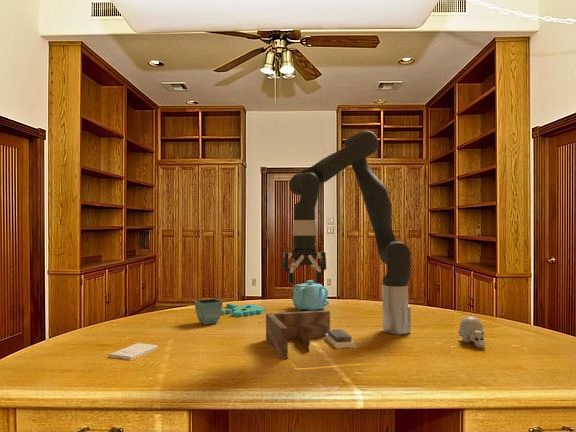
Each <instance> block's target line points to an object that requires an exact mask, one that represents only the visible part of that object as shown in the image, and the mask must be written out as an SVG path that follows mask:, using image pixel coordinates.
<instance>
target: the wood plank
mask: <svg viewBox="0 0 576 432" xmlns="http://www.w3.org/2000/svg"><path fill="white" fill-rule="evenodd" d="M298 332H299V335H300V338H299V339H300V341H301V345H302V346H303V347H304V348H305V350H306V351H308V352H310V341H311V337H309V336H307V335H305V334H304V333H303V332H302V331H301V330H300V327H299V326H298Z"/></svg>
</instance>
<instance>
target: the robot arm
mask: <svg viewBox="0 0 576 432" xmlns="http://www.w3.org/2000/svg"><path fill="white" fill-rule="evenodd" d="M378 147H379V140H378V136H377V135H376V134H375V133H374V132H373V131H370V130H362V131H359V132H357V133H355V134H353V135H351V136H349V137H347V138H346V140H345V142H344V147H342V148H341V149H339V150H338V151H335V152H334V153H331V154H329V155H328V156H326V157H324V158H322V159H320V160H319V161H318V162H316V163H314V165H312V166H310V167H308V168H306V169H303V170H301V171H299V172H297V173H296V174H294V175H292V177H291V178H290V180H289V184H288V185H289V191H291V193H293V195H296V196H300V199H299V201H297V202H296V203H294V205H293V224H292V252H287V251H284V252H283V254H282V266H281V267H282V270H283V271H284V272H287V273H288V274H287V281H288V283H289V284H290V285H291V286H294V284H295V279H294V278H295V276H294V275H295V273H294V271H295V270H296V269H297V268H298V266H311V267H312V268H313V269H314V270H315V271H314V283H315V284H320V282H321V280H322V279H321V278H322V277H321V276H322V275H321V274H322V272H323V271H326V270H327V258H326V257H327V256H326V251H319V252H317V226H316V205H317V202H318V198H319V193H320V189H321V187H320V185H321V184H324V183H326V182H328V181H329V180H331V179H332V178H333V177H336V176H337V175H338V174H339V173H341V172H342V171H344V169H346V168H347V167H350V165H351V167H352V169H353V173H354V174H355V178H356V180H357V183H358V186H359V189H360V192H361V196H362V199H363V203H364V205H365V209H366V211H367V215H368V217H369V220H370V224H371V226H372V230H373V233H374V238H375V242H376V247H377V253H378V256H379V259H380V260H381V262H382V263H383V264H385V265H386V266H387V267H386V274H385V275H384V276H382V332H383V333H386V334H390V335H406V334H408V333H410V334H411V332H412V331H411V330H412V327H411V326H412V321H411V320H412V315H411V314H412V313H411V312H412V311H411V309H412V307H411V306H410V305H409V281H410V278H411V269H412V268H411V265H412V264H411V262H412V257H411V256H412V254H411V250H410V248H409V246H408V245H407V244H406V243H404V242H401V241H397V239H396V236H395V233H394V230H393V226H392V215H393V207H392V202H391V199H390V195H389V193H388V188H387V187H386V186H385V184H384V183H383V182H382V181H381V179H379V178H378V177H377V175H375V174H374V173H373V171H372V170H371V168H370V165H369V162H368V159H367V157H371V155H373V154H375V153H376V151H377V149H378ZM317 257H318V259H319V262H320V266H319V265H318V262H317V261H316V258H317ZM291 258H292V259H293V260H292V263H291V264H290V265H289V260H290V259H291Z"/></svg>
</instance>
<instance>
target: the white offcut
mask: <svg viewBox="0 0 576 432" xmlns="http://www.w3.org/2000/svg"><path fill="white" fill-rule="evenodd" d="M324 337H325V338H326V339H327V340H328V341H329V342H330V343H331V344H333V345H334V346H335V347H336V348H345V347H354V345H355V341H354V340H352V342H336V341H335V340H334V339H333V338H332V337H330V336H329V335H328V334H325V336H324ZM329 342H328V343H329ZM330 343H329V344H330ZM331 344H330V345H331ZM334 346H333V347H334ZM335 347H334V348H335ZM336 348H335V349H336Z"/></svg>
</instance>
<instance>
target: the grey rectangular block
mask: <svg viewBox="0 0 576 432" xmlns="http://www.w3.org/2000/svg"><path fill="white" fill-rule="evenodd" d="M328 335H329V336H330V337H332V338H333V339H334V340H335V341H336V342H352V341H353V340H352V336H351V335H350V334H349V333H348V332H346V331H345V330H344V329H342V328H341V329H339V328H338V329H330V330H328Z"/></svg>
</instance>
